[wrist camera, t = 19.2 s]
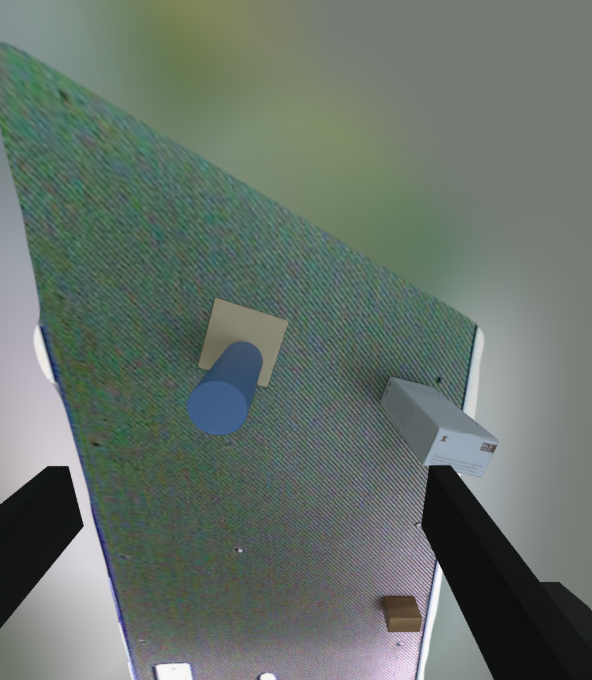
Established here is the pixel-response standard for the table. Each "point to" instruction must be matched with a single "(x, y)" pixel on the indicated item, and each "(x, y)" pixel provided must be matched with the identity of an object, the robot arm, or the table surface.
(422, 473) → the table surface
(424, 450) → the cosmetic box
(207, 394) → the tube
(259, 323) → the mat
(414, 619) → the brown rectangular block
